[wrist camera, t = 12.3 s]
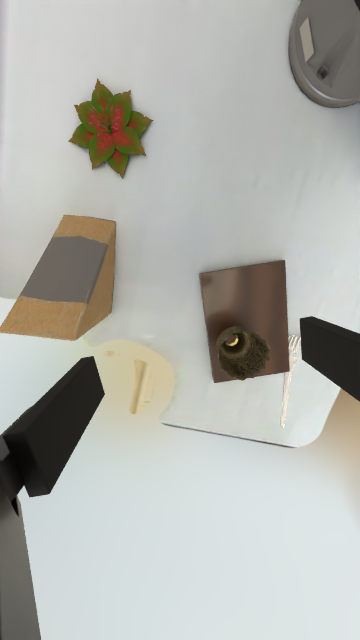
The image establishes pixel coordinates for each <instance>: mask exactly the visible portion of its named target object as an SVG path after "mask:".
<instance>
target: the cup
mask: <svg viewBox="0 0 360 640" xmlns="http://www.w3.org/2000/svg"><path fill="white" fill-rule="evenodd" d="M231 335H234V336H235V341H234V342H233V343H228V342H227V341H226V339H227V338H229V337H230V336H231ZM267 343H268V342H267V341H266V339H264V338H263V337H261V336H260V335H259V334H257V333H256V332H254V331H252V330H250V329H247V328H244V327H240V326H234V327H230V328H228V329H226V330H224V331H223V332H222V333H221V334H220V336H219V337H218V340H217V344H216V351H217V357H218V362H219V365H220V368H221V370H222V371H223V370H224V371H225V372H227V373H228V374H229V376H230V377H231V378H234V377H235V378H237V379H239V380H245V379H246V378H247V377H250V378H254V373H256V374H260V373H261V372H262V369H265V367H266V366H265V364H266V362H265V361H269V357H268V354H270V347H269V346H268V344H267Z"/></svg>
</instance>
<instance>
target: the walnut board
mask: <svg viewBox="0 0 360 640" xmlns="http://www.w3.org/2000/svg"><path fill="white" fill-rule="evenodd" d="M199 277H200V285H201V292H202V300H203V307H204V315H205V322H206V330H207V337H208V345H209V352H210V360H211V368H212V375H213V380H214V383H218V382H224V381H231V380H238V379H237V378H235V377H234V378H231V377H230V376H229V374H228V373H227V372H225V371H224V370H223V371H222V370H221V368H220V365H219V362H218V357H217V351H216V344H217V340H218V337H219V336H220V334H221V333H222V332H223V331H224V330H226V329H228V328H230V327H234V326H240V327H244V328H247V329H250V330H252V331H254V332H256V333H257V334H259V335H260V336H261V337H263V338H264V339H266V341H267V342H268V343H267V344H268V346H269V347H270V354H268V357H269V361H265V362H266V364H265V366H266V367H265V369H262V372H261V373H260V374H256V373H254V377H257V376H264V375H270V374H277V373H283V372H290V367H289V344H288V320H287V297H286V273H285V260H281V261H275V262H268V263H262V264H256V265H250V266H243V267H237V268H231V269H225V270H218V271H212V272H206V273H200V274H199ZM226 341H227V342H228V343H233V342H234V341H235V336H234V335H231V336H230V337H229V338H227V339H226ZM247 378H250V377H247Z"/></svg>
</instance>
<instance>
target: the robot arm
mask: <svg viewBox="0 0 360 640" xmlns="http://www.w3.org/2000/svg"><path fill="white" fill-rule="evenodd" d="M289 57H290V64H291V68H292V71H293V74H294V77H295V79H296V81H297V83H298V85H299V87H300V88H301V89H302V91H303V92H304V93H305V94H306V95H307V96H308V97H309V98H310V99H312V100H313V101H315V102H317V103H318V104H321V105H324V106H327V107H344V106H348V105H351V104H354V103H356V102H358V101H360V0H302V1H301V3H300V5H299V7H298V10H297V12H296V14H295V17H294V20H293V23H292V27H291V32H290V40H289ZM300 333H301V351H302V360H304V361H305V362H307V363H308V364H309V365H311V366H312V367H313V368H315V369H316V370H317V371H319V372H320V373H321V374H323V375H324V376H326V377H327V378H328V379H330V380H331V381H332V382H334V383H335V384H336V385H338V386H339V387H341V388H342V389H343V390H345V391H346V392H347V393H349V394H350V395H351V396H353V397H354V398H356V399H357V400H358V401H360V334H359V333H356V332H353V331H351V330H348V329H345V328H343V327H340V326H337V325H334V324H332V323H329V322H326V321H323V320H321V319H318V318H315V317H313V316H311V317H305V318H300ZM104 395H105V393H104V390H103V386H102V383H101V380H100V376H99V373H98V369H97V366H96V363H95V360H94V357H93V356H91V357H85V358H81V359H80V360H79V361H78V362H77V363H76V364H75V365H74V366H73V367H72V368H71V369H70V370H69V371H68V372H67V373H66V374H65V375H64V376H63V377H62V378H61V379H60V380H59V381H58V382H57V383H56V384H55V385H54V386H53V387H52V388H51V389H50V390H49V391H48V392H47V393H46V394H45V395H44V396H43V397H42V398H41V399H40V400H39V401H37V402H36V403H35V404H34V405H33V406H32V407H30V408H29V409H27V410H26V411H25V412H24V413H23V414H22V415H21V416H20V417H19V419H17V420H16V421H15V422H14V423H13V424H12V425H11V426H10V427H9V428H8V429H7V430H5V431H4V432H3V434H1V435H0V640H41V636H40V629H39V623H38V616H37V610H36V603H35V597H34V590H33V583H32V577H31V570H30V564H29V557H28V550H27V544H26V537H25V530H24V524H23V517H22V511H21V504H20V501H19V499H18V497H17V494H18V493H19V491H20V490H21V489H22V487H23V486H25V488H26V490H27V493H28V495H29V497H35V496H41V495H47V494H50V492H51V490H52V489H53V487H54V485H55V483H56V481H57V480H58V478H59V476H60V474H61V472H62V471H63V469H64V467H65V465H66V463H67V462H68V460H69V458H70V456H71V454H72V453H73V450H74V449H75V447H76V445H77V443H78V441H79V440H80V438H81V436H82V434H83V433H84V431H85V429H86V427H87V425H88V424H89V422H90V420H91V418H92V416H93V414H94V413H95V411H96V409H97V407H98V406H99V404H100V402H101V400H102V398H103V397H104Z"/></svg>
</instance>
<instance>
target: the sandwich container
mask: <svg viewBox="0 0 360 640" xmlns="http://www.w3.org/2000/svg"><path fill="white" fill-rule="evenodd" d="M115 223H116V222H115V221H110V220H104V219H98V218H93V217H84V216H71V215H64V216H63V218H62V220H61V222H60V224H59V226H58V228H57V229H56V231H55V233H54V235H53V237H52V239H51V241H50V243H49V244H48V246H47V248H46V250H45V252H44V254H43V255H42V257H41V259H40V261H39V262H38V264H37V266H36V267H35V269H34V271H33V273H32V275H31V276H30V278H29V280H28V282H27V284H26V285H25V287H24V289H23V291H22V292H21V294H20V296H19V297H18V299H17V301H16V303H15V304H14V306H13V307H12V309H11V311H10V312H9V314H8V316H7V317H6V319H5V320H4V322H3V323H2V325H1V327H0V333H9V334H18V335H27V336H37V337H45V338H53V339H61V340H69V341H74V340H77V339H78V338H79V337H81V336H82V335H83V334H85V333H86V332H87V331H88V330H90V329H91V328H92V327H94V326H95V325H96V324H98V323H99V322H100V321H101V320H103V319H104V318H105V317H107V316H108V315H109V314H110V313H111V310H112V297H113V285H114V261H115Z"/></svg>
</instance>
